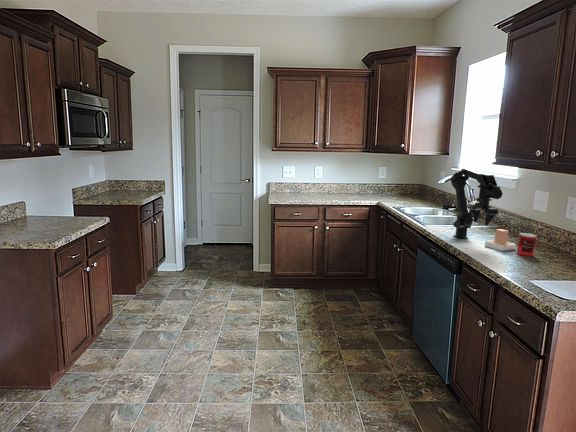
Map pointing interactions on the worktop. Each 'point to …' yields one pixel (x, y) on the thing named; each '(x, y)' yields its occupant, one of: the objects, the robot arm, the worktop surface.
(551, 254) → the worktop surface
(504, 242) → the terracotta block
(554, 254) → the worktop surface
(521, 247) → the canned food
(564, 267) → the worktop surface
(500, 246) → the tray
